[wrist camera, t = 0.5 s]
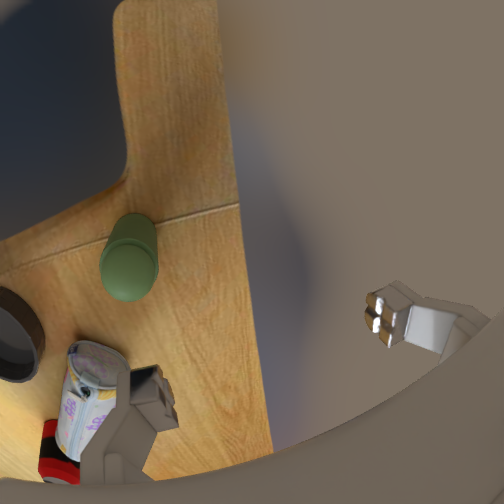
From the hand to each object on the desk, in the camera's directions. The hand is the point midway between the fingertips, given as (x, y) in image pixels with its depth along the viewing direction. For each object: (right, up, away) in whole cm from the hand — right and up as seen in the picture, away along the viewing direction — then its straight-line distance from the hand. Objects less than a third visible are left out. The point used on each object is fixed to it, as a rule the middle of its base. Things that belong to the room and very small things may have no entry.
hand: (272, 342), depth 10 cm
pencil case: (-25, -17, +24) cm, 38 cm away
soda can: (-35, -29, +25) cm, 52 cm away
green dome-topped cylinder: (-14, +5, +20) cm, 24 cm away
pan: (-34, -7, +17) cm, 39 cm away
